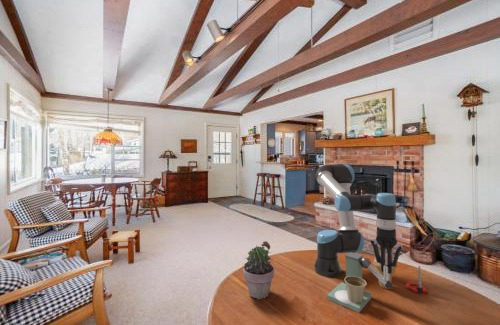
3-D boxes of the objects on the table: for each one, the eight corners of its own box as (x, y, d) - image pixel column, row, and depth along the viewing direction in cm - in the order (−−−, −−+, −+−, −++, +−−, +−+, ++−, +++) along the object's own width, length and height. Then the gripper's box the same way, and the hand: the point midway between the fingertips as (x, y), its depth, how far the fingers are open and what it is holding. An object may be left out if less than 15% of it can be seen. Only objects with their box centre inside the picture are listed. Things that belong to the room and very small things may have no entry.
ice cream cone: (387, 294, 119) (387, 254, 118) (368, 284, 129) (368, 246, 128) (401, 288, 124) (401, 250, 123) (382, 279, 133) (381, 243, 133)
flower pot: (365, 295, 115) (365, 277, 114) (367, 307, 106) (367, 287, 106) (344, 292, 118) (344, 274, 118) (344, 303, 109) (344, 284, 109)
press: (326, 299, 115) (326, 259, 115) (341, 285, 127) (341, 249, 127) (358, 313, 105) (358, 269, 104) (372, 297, 117) (372, 257, 116)
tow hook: (402, 283, 129) (411, 292, 120) (402, 259, 130) (410, 266, 121) (419, 284, 128) (430, 293, 119) (419, 260, 128) (429, 267, 119)
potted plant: (233, 302, 114) (232, 250, 114) (248, 282, 132) (247, 237, 132) (270, 310, 108) (269, 254, 107) (280, 287, 126) (279, 240, 126)
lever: (358, 263, 117) (363, 258, 115) (360, 261, 119) (365, 255, 117) (387, 291, 108) (393, 286, 106) (389, 288, 110) (395, 283, 108)
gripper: (367, 226, 111) (368, 277, 111) (400, 232, 102) (401, 288, 102) (373, 223, 116) (373, 272, 117) (405, 228, 107) (405, 281, 107)
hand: (386, 279), depth 109 cm, fingers closed
